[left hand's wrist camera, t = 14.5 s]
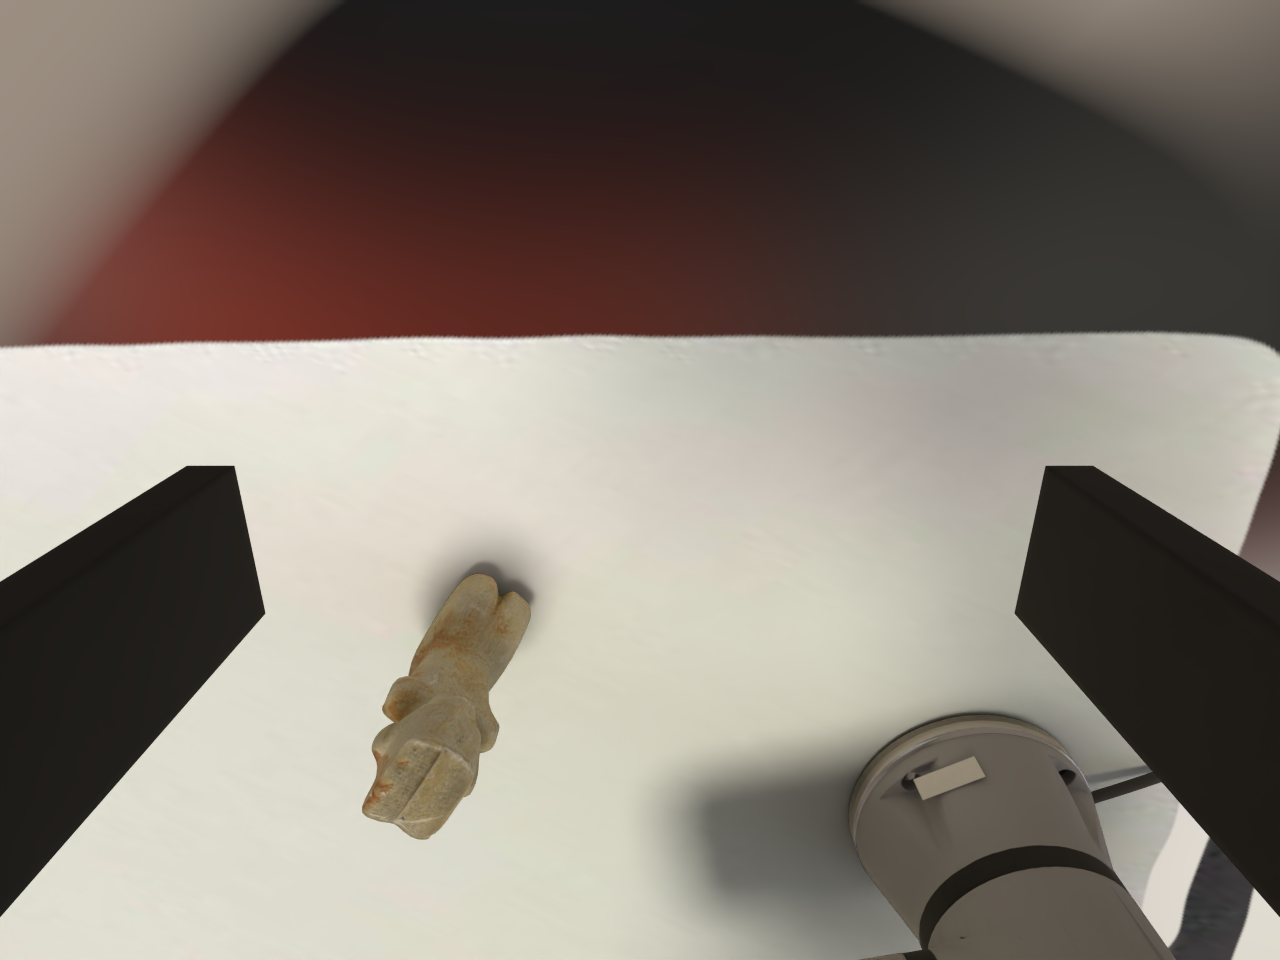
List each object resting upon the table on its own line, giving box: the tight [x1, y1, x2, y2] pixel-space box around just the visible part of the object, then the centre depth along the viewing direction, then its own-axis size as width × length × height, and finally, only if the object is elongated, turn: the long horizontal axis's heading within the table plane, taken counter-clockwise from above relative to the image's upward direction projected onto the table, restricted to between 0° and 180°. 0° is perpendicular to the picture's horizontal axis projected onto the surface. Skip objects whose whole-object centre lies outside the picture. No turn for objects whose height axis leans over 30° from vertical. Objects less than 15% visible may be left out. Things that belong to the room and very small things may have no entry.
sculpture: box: [362, 574, 531, 840], centre depth 38 cm, size 6×7×15 cm
